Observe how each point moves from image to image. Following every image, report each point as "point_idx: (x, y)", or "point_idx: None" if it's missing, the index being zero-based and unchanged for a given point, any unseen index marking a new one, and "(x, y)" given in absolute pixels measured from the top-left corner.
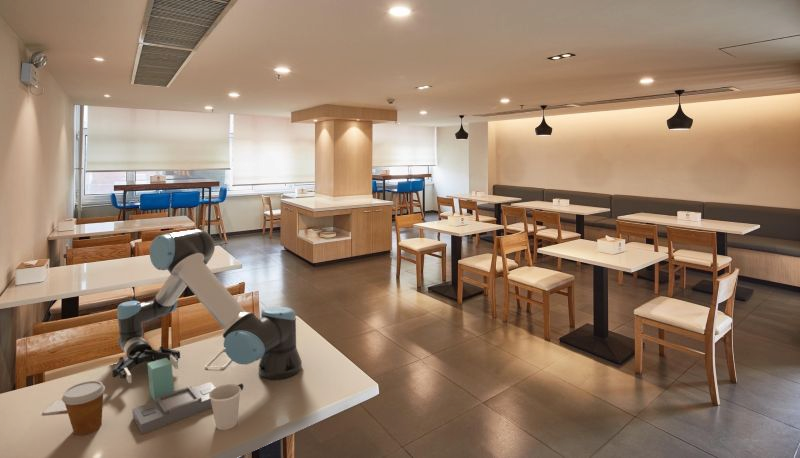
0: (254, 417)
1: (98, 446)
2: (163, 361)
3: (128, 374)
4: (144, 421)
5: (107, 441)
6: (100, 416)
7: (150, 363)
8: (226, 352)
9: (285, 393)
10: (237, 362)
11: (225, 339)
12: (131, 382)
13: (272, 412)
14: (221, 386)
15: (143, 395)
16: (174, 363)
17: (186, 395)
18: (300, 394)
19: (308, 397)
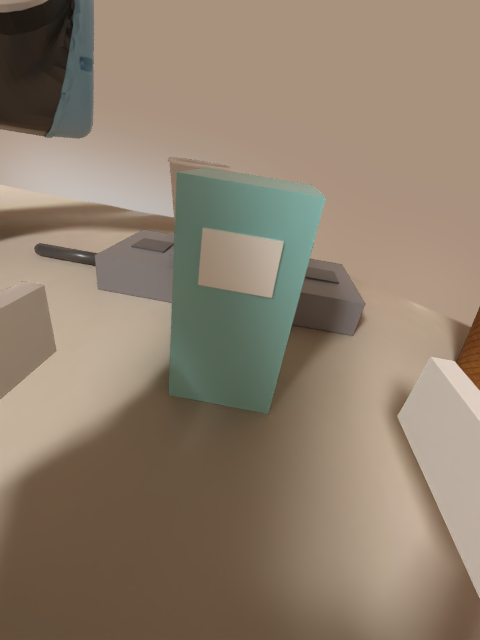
0: (154, 226)
1: (426, 314)
2: (225, 176)
3: (461, 374)
4: (334, 265)
5: (409, 314)
6: (471, 327)
7: (305, 191)
8: (93, 86)
9: (50, 218)
10: (91, 128)
11: (93, 14)
12: (400, 414)
13: (127, 219)
14: (190, 163)
15: (298, 437)
16: (24, 330)
17: None
18: (46, 210)
19: (55, 206)
